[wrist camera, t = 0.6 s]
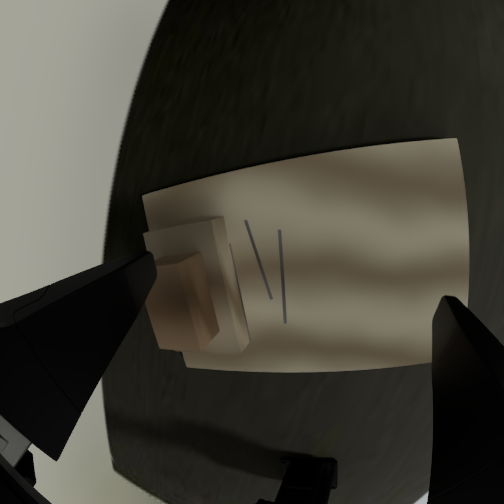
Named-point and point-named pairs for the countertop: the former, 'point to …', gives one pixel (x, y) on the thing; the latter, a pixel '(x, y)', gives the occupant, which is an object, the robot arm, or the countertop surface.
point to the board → (335, 253)
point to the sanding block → (195, 289)
